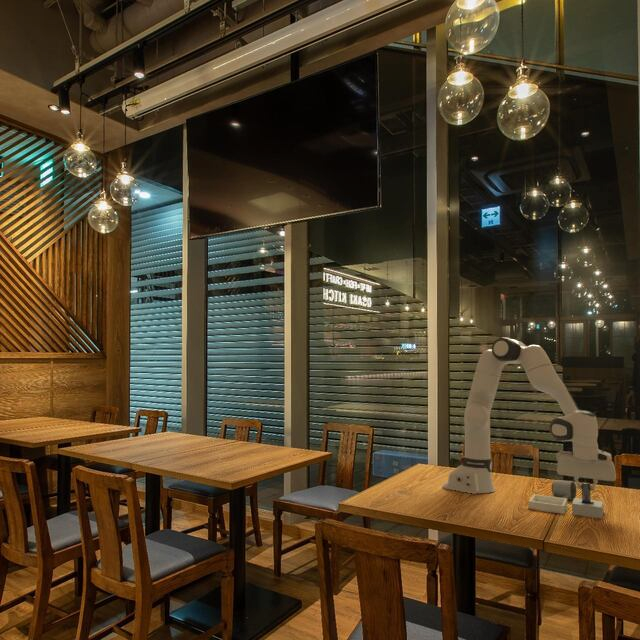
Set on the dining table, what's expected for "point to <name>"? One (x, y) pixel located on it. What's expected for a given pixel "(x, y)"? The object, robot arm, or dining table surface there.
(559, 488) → the ceramic mug
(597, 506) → the grey square socket block
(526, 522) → the dining table surface
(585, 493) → the pin
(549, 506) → the tray
